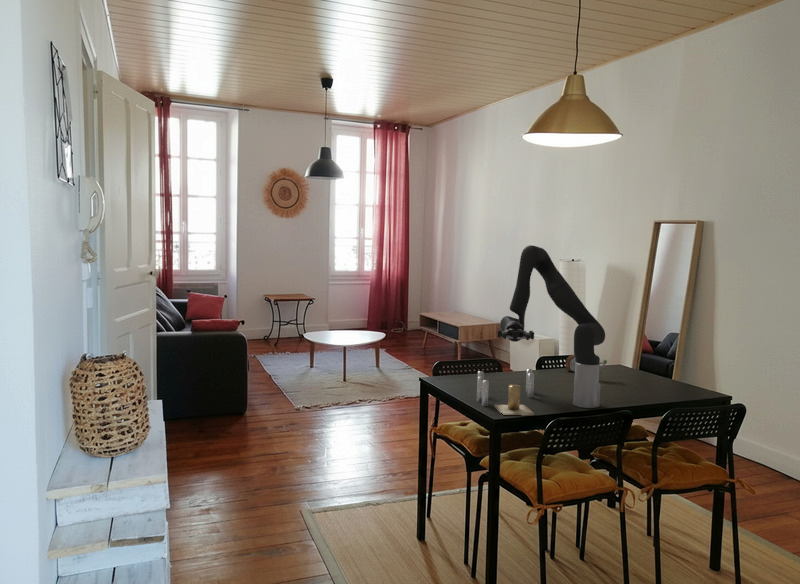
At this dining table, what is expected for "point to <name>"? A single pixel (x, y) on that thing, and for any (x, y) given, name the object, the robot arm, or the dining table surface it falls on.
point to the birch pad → (506, 411)
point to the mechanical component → (603, 364)
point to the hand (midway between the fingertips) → (516, 337)
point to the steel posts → (484, 386)
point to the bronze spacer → (514, 397)
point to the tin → (570, 363)
